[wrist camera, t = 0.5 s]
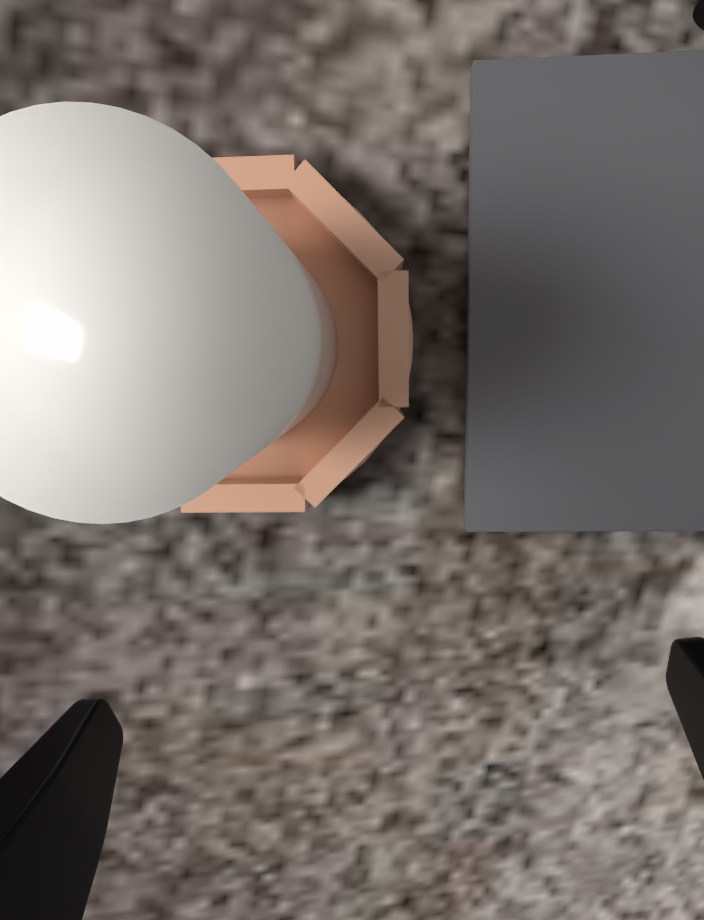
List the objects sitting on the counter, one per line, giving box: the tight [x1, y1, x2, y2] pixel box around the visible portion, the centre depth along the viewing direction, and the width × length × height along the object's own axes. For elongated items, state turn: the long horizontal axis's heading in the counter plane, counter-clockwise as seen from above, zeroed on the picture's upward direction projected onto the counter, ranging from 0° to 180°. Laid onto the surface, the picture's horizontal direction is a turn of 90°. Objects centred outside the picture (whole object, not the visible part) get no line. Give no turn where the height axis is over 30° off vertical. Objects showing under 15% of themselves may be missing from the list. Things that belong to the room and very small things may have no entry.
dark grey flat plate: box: [464, 50, 704, 532], centre depth 20 cm, size 16×12×1 cm
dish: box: [181, 155, 413, 513], centre depth 21 cm, size 12×12×2 cm
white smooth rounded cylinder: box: [0, 102, 338, 524], centre depth 15 cm, size 7×7×11 cm
